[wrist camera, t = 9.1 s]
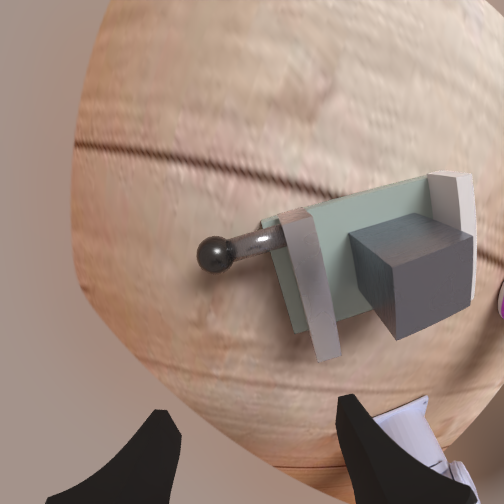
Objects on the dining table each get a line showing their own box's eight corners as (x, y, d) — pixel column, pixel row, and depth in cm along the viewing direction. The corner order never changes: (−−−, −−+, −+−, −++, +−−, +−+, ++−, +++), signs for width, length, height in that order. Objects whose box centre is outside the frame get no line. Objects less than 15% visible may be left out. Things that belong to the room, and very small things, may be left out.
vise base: (443, 276, 18) (473, 298, 14) (293, 329, 19) (301, 367, 15) (434, 169, 15) (471, 173, 11) (259, 215, 17) (261, 231, 13)
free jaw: (330, 329, 18) (341, 355, 15) (244, 352, 18) (242, 380, 15) (301, 203, 15) (311, 212, 12) (197, 235, 16) (186, 249, 13)
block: (358, 289, 17) (396, 340, 11) (348, 232, 16) (392, 267, 10) (419, 267, 16) (470, 305, 11) (414, 212, 15) (473, 235, 10)
